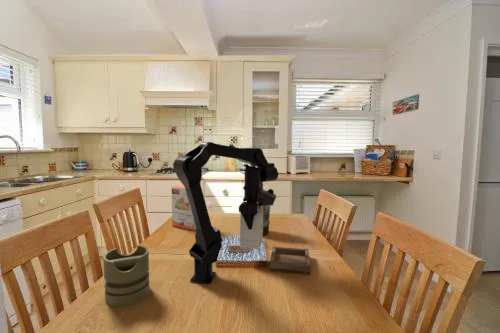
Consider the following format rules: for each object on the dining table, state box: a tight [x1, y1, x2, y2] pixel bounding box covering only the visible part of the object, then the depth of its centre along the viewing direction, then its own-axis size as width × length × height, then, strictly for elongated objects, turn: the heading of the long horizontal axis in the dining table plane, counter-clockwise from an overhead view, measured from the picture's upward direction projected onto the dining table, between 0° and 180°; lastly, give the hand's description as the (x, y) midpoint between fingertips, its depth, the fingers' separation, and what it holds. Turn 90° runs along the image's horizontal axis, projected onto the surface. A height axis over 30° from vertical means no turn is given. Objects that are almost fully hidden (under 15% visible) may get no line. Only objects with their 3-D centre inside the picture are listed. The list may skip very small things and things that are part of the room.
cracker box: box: [171, 184, 196, 232], centre depth 129 cm, size 14×6×21 cm, turn 62°
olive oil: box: [259, 182, 271, 237], centre depth 122 cm, size 11×11×25 cm
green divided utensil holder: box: [102, 244, 150, 308], centre depth 72 cm, size 11×12×11 cm
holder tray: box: [269, 246, 312, 275], centre depth 92 cm, size 13×13×3 cm
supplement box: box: [239, 209, 264, 250], centre depth 93 cm, size 7×7×13 cm
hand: (251, 225), depth 93 cm, fingers closed on supplement box, 7 cm apart
